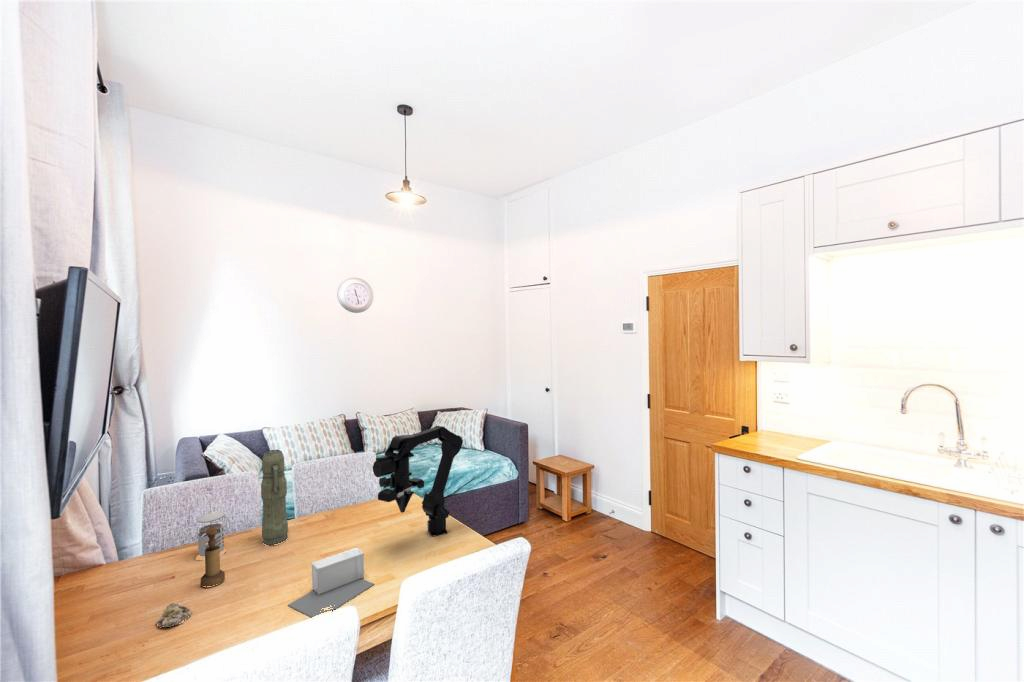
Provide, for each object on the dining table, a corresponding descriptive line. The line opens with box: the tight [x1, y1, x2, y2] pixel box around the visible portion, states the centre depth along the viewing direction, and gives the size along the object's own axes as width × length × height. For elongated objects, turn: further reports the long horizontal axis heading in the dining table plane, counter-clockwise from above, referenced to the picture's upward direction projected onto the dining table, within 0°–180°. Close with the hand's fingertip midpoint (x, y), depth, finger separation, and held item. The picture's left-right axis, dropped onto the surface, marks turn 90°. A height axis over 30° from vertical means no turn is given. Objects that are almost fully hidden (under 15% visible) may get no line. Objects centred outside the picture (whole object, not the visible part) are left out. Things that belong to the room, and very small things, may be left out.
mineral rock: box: [155, 602, 193, 628], centre depth 124 cm, size 11×4×8 cm
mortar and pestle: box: [200, 526, 226, 587], centre depth 141 cm, size 7×6×18 cm
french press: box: [196, 485, 231, 556], centre depth 162 cm, size 10×12×25 cm
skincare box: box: [311, 547, 365, 595], centre depth 139 cm, size 8×6×15 cm
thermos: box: [260, 449, 289, 546], centre depth 170 cm, size 9×12×35 cm
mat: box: [287, 578, 375, 618], centre depth 133 cm, size 20×14×1 cm
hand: (402, 512), depth 163 cm, fingers closed
